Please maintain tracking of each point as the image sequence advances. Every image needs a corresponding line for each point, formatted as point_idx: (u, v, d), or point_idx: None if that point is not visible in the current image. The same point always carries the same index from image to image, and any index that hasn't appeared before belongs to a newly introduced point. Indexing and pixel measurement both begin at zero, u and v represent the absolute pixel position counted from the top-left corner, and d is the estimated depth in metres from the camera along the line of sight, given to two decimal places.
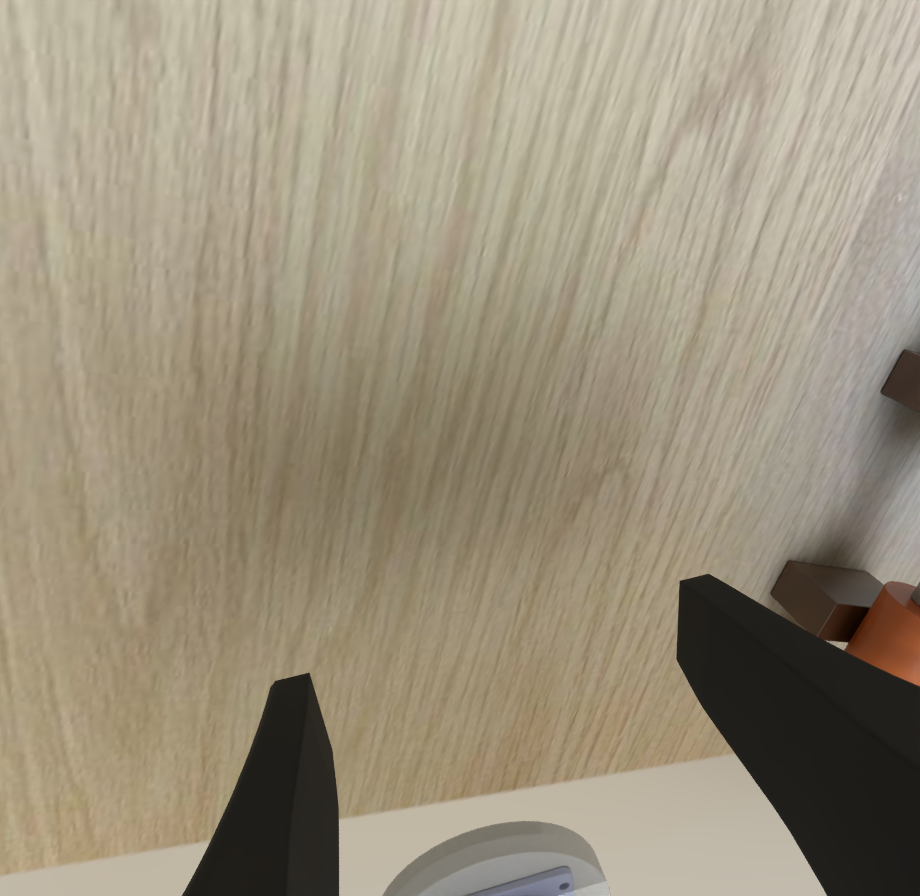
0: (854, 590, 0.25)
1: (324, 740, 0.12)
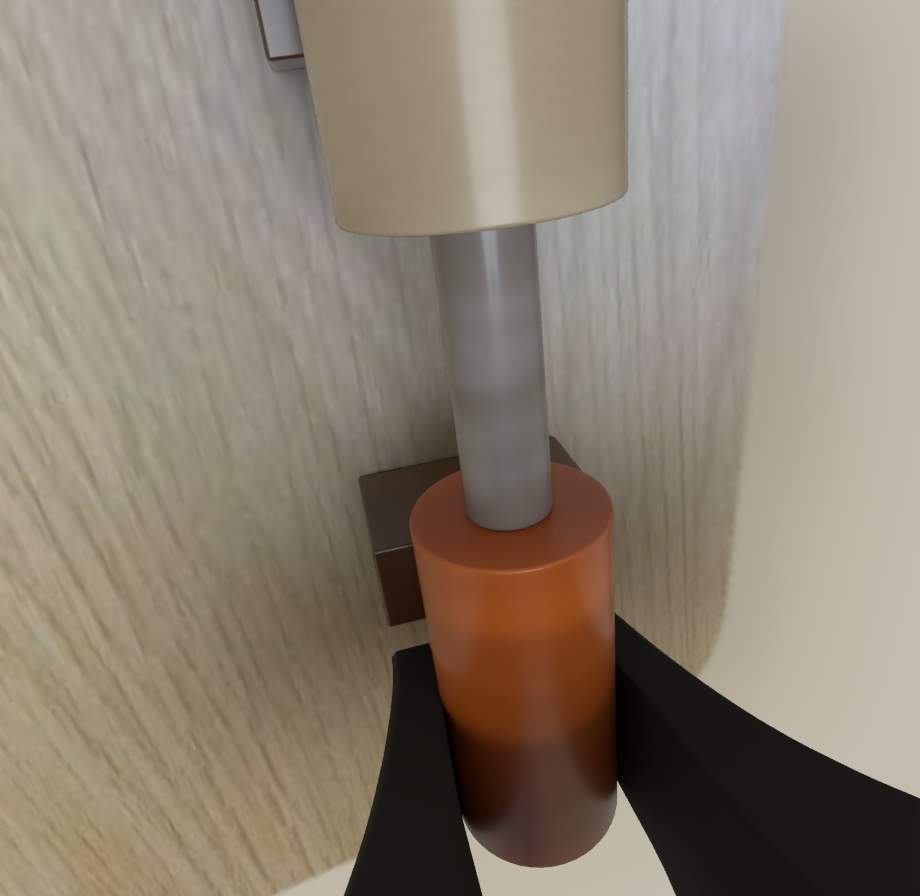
0: None
1: None
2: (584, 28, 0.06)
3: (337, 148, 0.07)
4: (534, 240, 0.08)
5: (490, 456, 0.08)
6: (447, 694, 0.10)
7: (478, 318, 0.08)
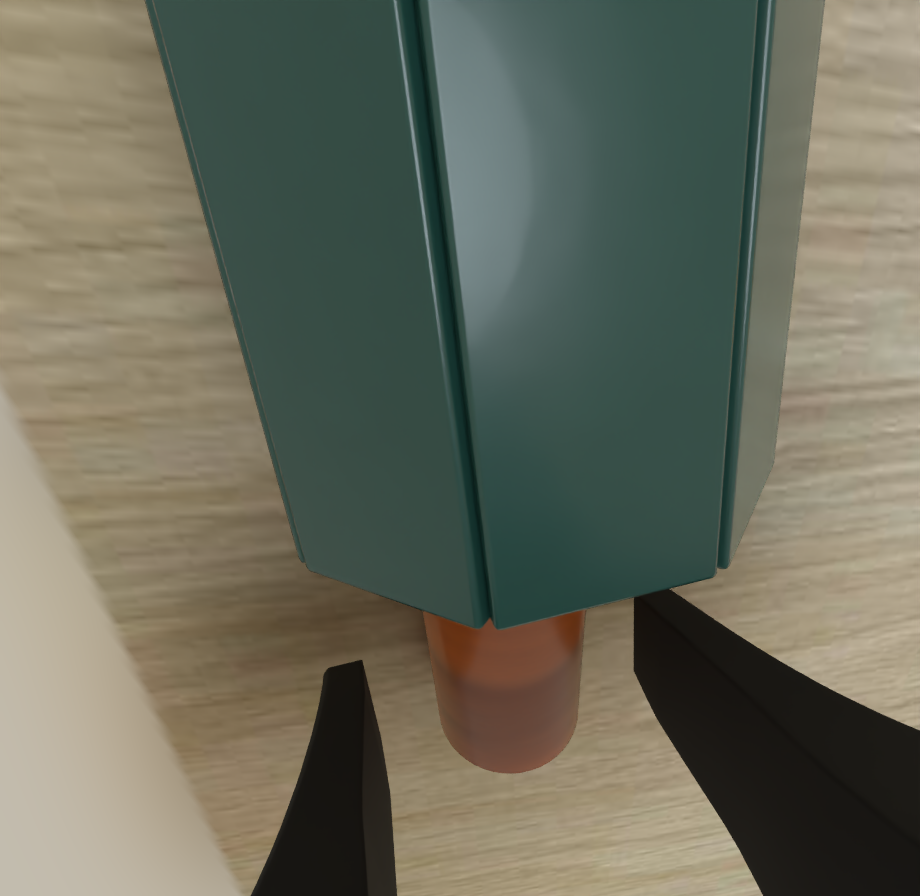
0: None
1: (376, 726, 0.12)
2: None
3: None
4: None
5: None
6: (436, 642, 0.11)
7: None
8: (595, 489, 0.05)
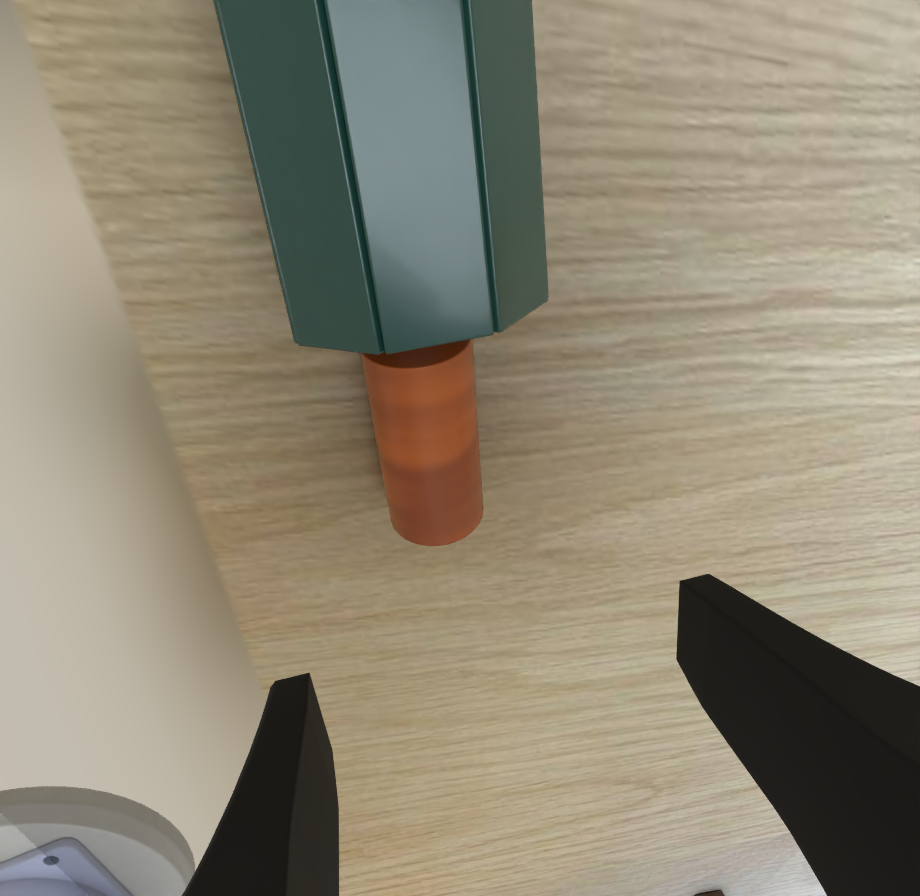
0: None
1: (324, 740, 0.12)
2: None
3: None
4: None
5: None
6: (381, 444, 0.18)
7: None
8: (426, 280, 0.12)
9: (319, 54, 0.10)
